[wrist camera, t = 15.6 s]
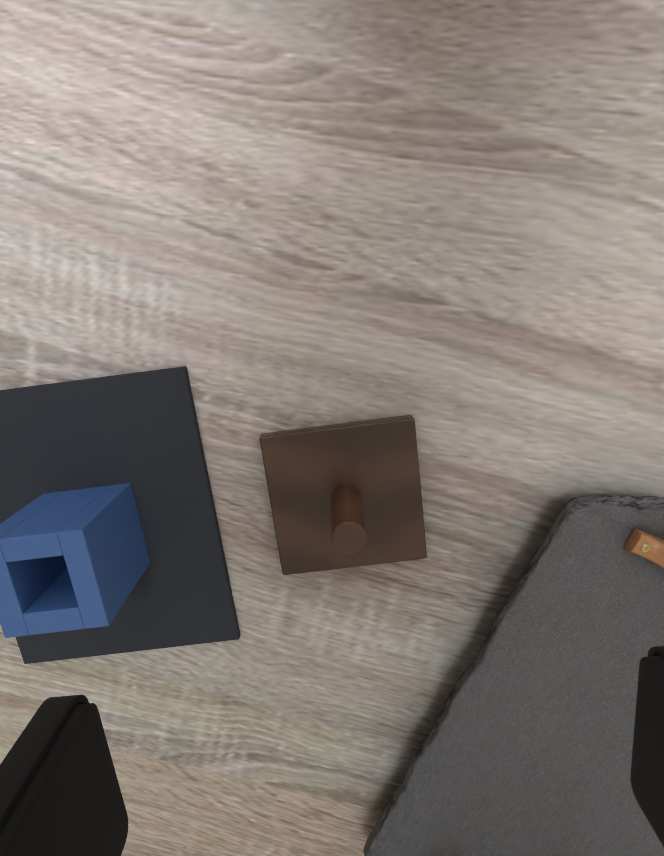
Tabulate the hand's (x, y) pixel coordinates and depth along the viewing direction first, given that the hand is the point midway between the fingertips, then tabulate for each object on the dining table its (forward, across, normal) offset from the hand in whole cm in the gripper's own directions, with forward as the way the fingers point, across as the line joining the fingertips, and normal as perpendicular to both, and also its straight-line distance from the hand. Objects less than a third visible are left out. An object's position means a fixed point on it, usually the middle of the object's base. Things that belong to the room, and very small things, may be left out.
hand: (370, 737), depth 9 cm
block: (+25, +17, +7) cm, 31 cm away
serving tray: (+25, -16, +27) cm, 40 cm away
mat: (+25, +17, +7) cm, 31 cm away
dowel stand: (+25, 0, +6) cm, 26 cm away
